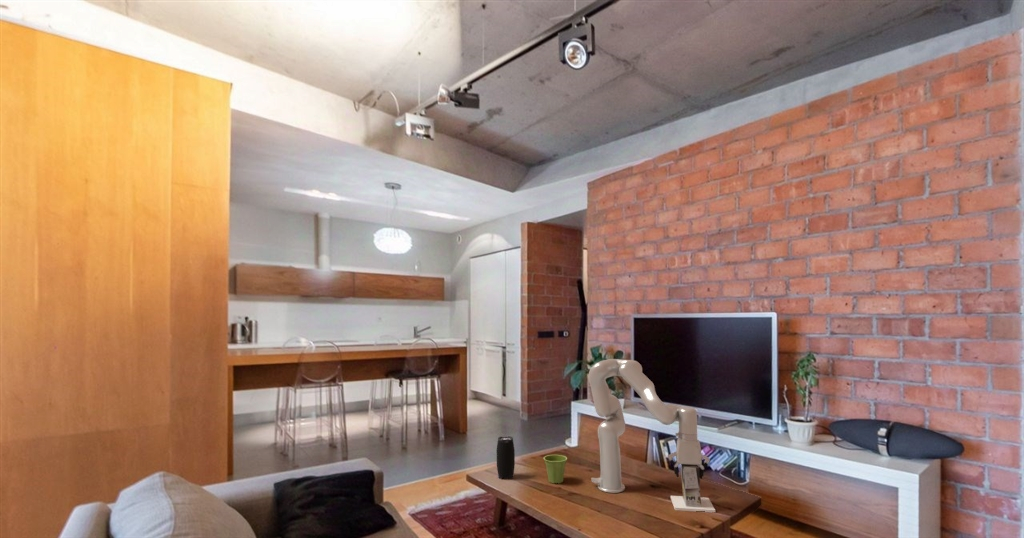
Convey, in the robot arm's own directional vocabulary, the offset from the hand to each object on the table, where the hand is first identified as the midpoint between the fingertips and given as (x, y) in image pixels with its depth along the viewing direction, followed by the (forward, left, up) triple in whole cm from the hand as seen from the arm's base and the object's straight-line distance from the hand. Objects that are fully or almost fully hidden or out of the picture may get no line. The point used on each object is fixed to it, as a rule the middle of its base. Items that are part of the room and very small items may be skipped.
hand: (688, 476), depth 198 cm
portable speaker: (-86, +21, -12) cm, 90 cm away
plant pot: (-60, +19, -12) cm, 64 cm away
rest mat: (+1, 0, -12) cm, 12 cm away
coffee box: (+1, 0, -11) cm, 11 cm away
